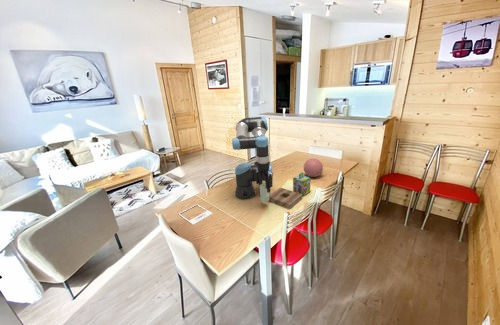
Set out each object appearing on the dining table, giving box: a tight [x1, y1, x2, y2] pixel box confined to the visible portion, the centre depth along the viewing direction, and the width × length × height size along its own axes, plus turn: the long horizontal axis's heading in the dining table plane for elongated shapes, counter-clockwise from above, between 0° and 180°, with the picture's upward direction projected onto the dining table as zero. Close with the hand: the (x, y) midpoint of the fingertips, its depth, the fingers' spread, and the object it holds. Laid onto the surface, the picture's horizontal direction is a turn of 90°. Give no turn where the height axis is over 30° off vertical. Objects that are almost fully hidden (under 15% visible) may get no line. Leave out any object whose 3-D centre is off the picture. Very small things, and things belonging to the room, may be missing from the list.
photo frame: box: [178, 203, 214, 226], centre depth 137 cm, size 15×1×18 cm
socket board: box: [268, 187, 303, 210], centre depth 145 cm, size 18×16×4 cm
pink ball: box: [303, 158, 324, 178], centre depth 176 cm, size 15×20×15 cm
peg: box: [259, 182, 269, 204], centre depth 137 cm, size 4×4×12 cm
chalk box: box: [292, 172, 312, 197], centre depth 151 cm, size 9×9×15 cm
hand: (264, 195), depth 137 cm, fingers closed on peg, 4 cm apart
